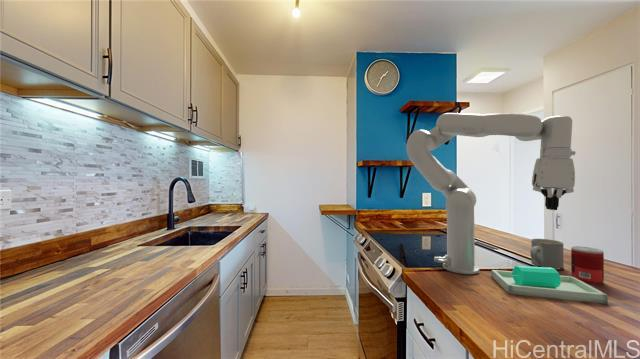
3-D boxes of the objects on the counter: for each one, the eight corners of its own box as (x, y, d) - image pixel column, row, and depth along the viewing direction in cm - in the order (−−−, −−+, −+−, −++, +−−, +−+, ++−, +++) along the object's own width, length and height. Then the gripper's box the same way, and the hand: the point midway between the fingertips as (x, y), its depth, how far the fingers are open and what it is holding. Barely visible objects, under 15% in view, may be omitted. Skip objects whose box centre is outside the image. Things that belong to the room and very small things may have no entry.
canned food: (610, 285, 87) (610, 252, 87) (582, 283, 89) (582, 251, 89) (591, 277, 94) (591, 246, 95) (565, 275, 96) (565, 245, 96)
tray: (509, 293, 80) (508, 285, 80) (491, 276, 95) (491, 269, 95) (607, 303, 74) (607, 295, 74) (572, 283, 88) (572, 276, 88)
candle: (549, 286, 85) (508, 283, 87) (546, 267, 87) (506, 265, 89) (562, 288, 80) (518, 286, 82) (558, 268, 81) (515, 265, 83)
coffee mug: (546, 261, 113) (546, 238, 113) (570, 269, 103) (570, 243, 103) (518, 262, 112) (517, 238, 112) (539, 270, 102) (539, 244, 102)
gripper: (575, 155, 88) (572, 210, 88) (523, 155, 92) (520, 206, 93) (591, 153, 81) (587, 212, 81) (533, 153, 85) (530, 209, 86)
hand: (551, 209), depth 87 cm, fingers closed
